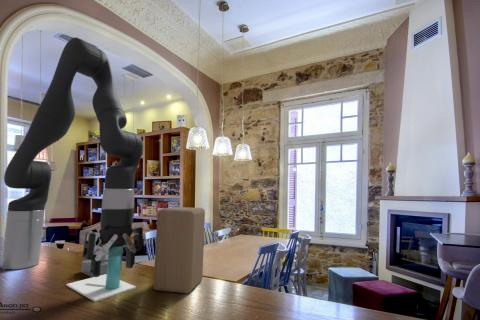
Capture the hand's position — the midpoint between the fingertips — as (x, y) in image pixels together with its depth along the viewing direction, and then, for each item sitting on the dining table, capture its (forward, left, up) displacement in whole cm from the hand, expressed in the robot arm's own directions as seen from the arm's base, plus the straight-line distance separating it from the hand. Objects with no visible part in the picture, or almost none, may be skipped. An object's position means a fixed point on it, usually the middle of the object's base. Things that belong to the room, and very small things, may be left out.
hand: (113, 271), depth 64 cm
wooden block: (+11, +12, -4) cm, 17 cm away
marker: (0, 0, -4) cm, 4 cm away
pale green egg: (-16, +5, -2) cm, 16 cm away
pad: (-3, -1, -4) cm, 5 cm away
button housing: (-15, +5, -4) cm, 17 cm away
